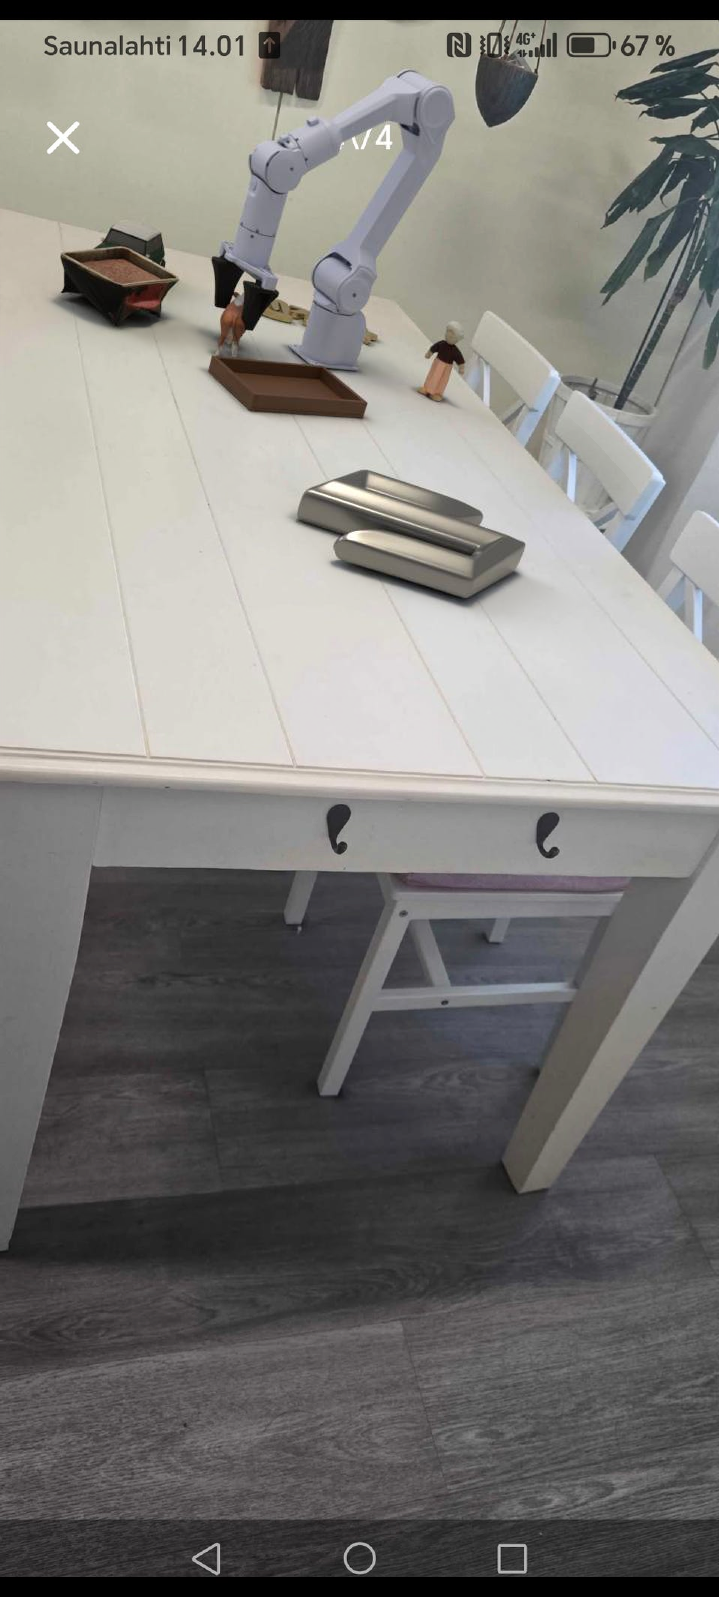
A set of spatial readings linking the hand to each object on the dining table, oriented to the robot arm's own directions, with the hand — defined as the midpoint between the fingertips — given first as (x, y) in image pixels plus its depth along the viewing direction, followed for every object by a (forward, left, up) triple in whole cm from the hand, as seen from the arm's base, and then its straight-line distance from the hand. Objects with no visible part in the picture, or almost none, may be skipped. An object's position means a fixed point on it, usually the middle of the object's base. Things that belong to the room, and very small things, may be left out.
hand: (233, 317), depth 192 cm
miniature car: (+4, -29, -5) cm, 30 cm away
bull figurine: (0, 0, -5) cm, 5 cm away
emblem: (+7, +62, -5) cm, 62 cm away
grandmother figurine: (-33, +13, -5) cm, 36 cm away
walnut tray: (-1, +17, -5) cm, 18 cm away
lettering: (-26, -17, -5) cm, 32 cm away
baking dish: (+15, -12, -5) cm, 20 cm away
